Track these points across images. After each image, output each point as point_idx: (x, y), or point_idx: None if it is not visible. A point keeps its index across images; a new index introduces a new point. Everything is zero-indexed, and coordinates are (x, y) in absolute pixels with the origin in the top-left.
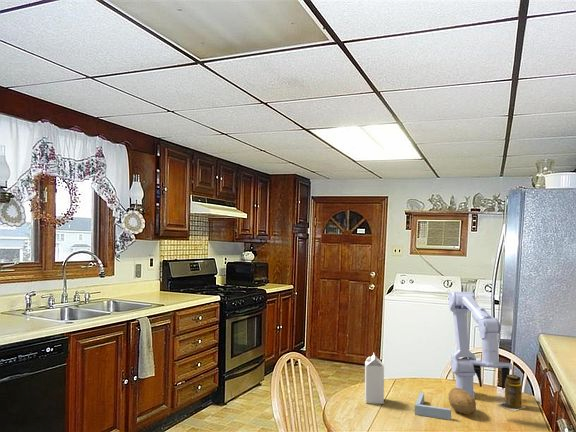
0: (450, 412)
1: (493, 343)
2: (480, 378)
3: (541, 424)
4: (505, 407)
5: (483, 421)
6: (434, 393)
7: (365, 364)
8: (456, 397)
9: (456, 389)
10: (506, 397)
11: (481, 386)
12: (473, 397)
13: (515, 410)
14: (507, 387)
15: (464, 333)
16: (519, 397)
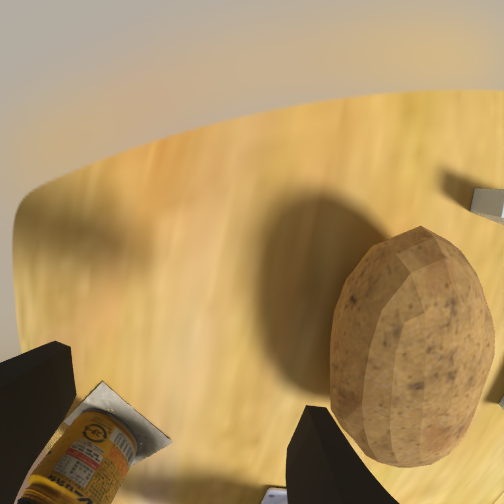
0: (499, 190)
1: None
2: (343, 480)
3: (20, 232)
4: (138, 421)
5: (301, 199)
6: (416, 493)
7: None
8: (487, 314)
9: (454, 426)
10: (118, 459)
11: (310, 406)
12: (269, 496)
13: (98, 389)
14: (92, 491)
15: None
16: (60, 439)
